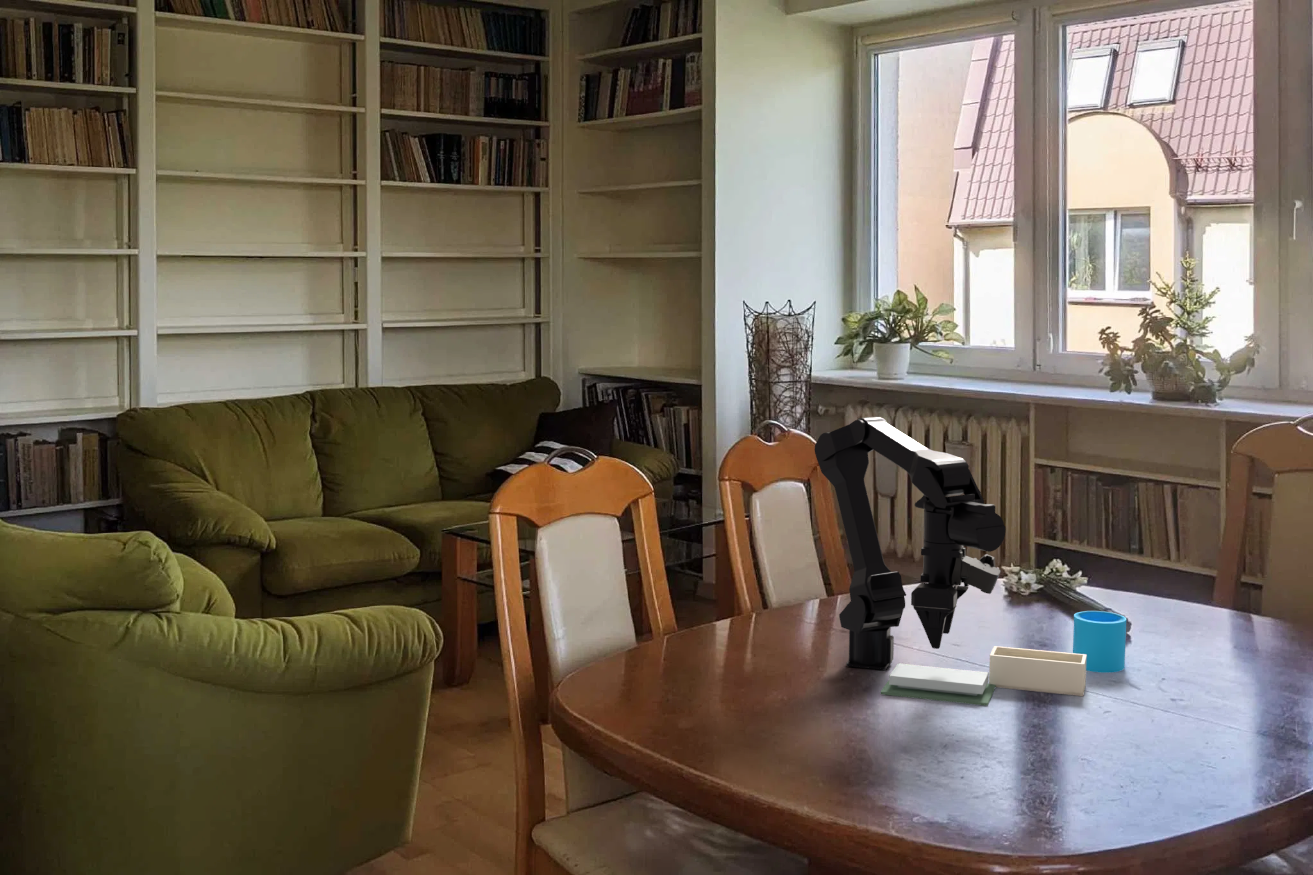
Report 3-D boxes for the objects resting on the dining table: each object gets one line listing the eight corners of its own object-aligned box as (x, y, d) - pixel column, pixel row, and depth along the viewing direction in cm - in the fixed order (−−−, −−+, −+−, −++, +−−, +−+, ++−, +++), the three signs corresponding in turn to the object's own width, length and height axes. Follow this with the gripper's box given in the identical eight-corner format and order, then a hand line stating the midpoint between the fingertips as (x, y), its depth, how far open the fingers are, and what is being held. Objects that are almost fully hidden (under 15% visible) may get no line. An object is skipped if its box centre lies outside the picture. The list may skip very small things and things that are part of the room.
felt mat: (880, 694, 205) (880, 691, 205) (893, 676, 214) (893, 673, 214) (987, 705, 199) (987, 703, 199) (995, 686, 208) (995, 684, 208)
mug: (1111, 676, 214) (1113, 626, 213) (1063, 666, 220) (1065, 617, 219) (1142, 660, 223) (1144, 612, 222) (1095, 651, 228) (1097, 604, 227)
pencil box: (988, 686, 209) (989, 655, 208) (993, 676, 214) (994, 645, 213) (1083, 696, 204) (1084, 664, 203) (1085, 685, 209) (1086, 654, 208)
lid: (889, 689, 206) (889, 675, 206) (898, 676, 212) (898, 663, 212) (982, 699, 201) (982, 685, 201) (988, 686, 207) (988, 672, 207)
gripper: (989, 555, 192) (986, 661, 194) (1004, 532, 210) (1002, 630, 211) (911, 550, 196) (909, 654, 198) (932, 528, 213) (930, 624, 215)
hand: (940, 640), depth 206 cm, fingers open, 9 cm apart
